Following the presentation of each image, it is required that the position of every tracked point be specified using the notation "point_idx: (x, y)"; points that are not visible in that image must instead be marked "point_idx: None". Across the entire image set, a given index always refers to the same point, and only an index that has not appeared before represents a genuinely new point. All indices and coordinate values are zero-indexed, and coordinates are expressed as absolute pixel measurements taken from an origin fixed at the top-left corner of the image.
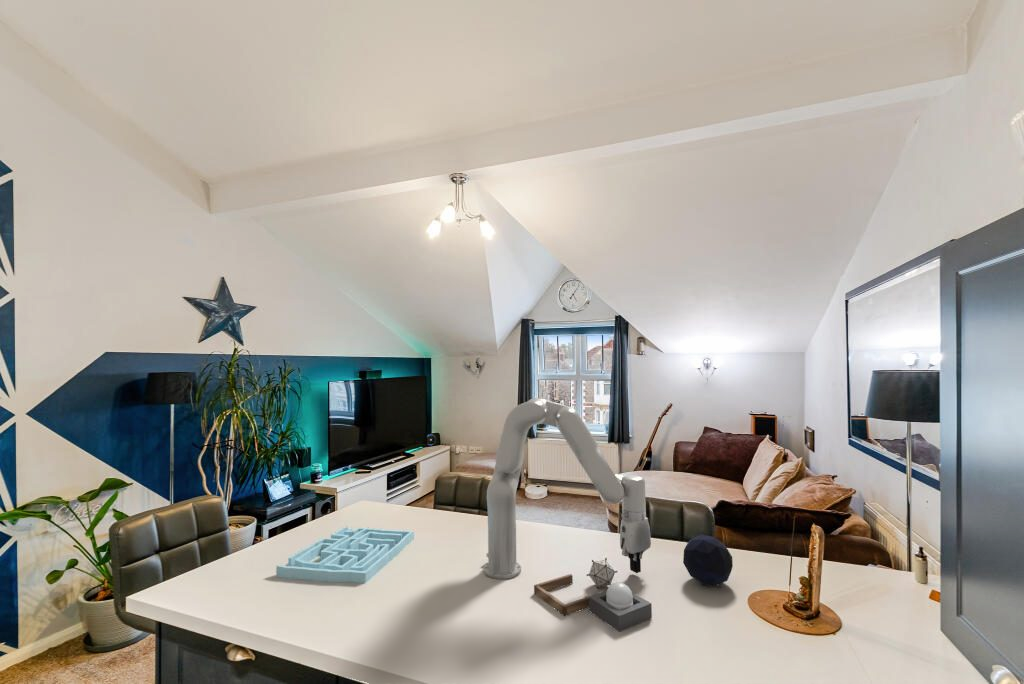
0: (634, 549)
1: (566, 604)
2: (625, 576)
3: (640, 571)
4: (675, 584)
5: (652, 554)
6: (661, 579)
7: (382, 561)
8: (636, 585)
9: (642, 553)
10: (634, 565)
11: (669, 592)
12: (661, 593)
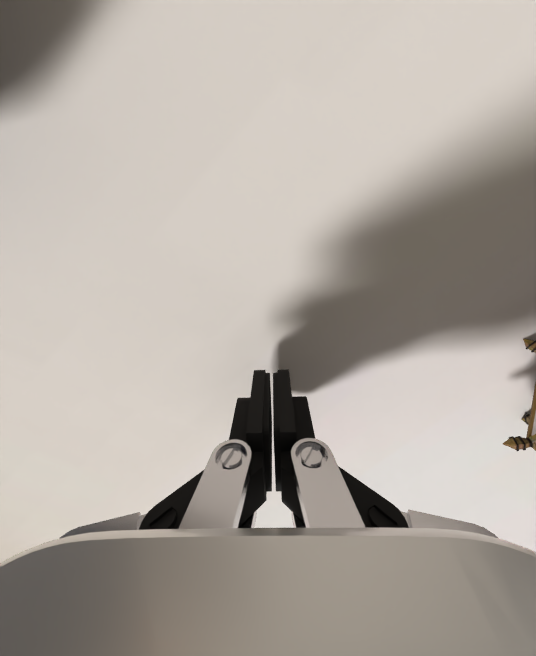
0: (505, 632)
1: None
2: (336, 395)
3: (255, 371)
4: (108, 124)
5: (20, 492)
6: (160, 253)
7: None
8: (380, 277)
9: (177, 495)
10: (302, 415)
11: (257, 23)
12: (332, 54)
